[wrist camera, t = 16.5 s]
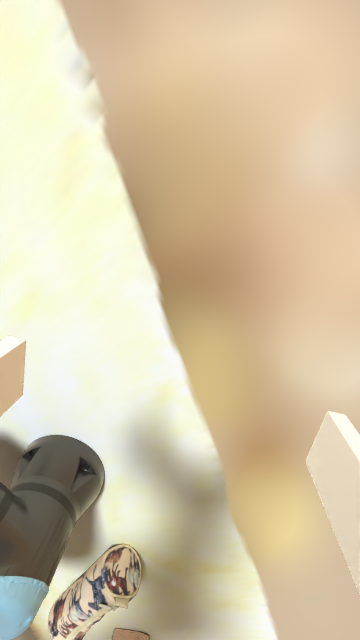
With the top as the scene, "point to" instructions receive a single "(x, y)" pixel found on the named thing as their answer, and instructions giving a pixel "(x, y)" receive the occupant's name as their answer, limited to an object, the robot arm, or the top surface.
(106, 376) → the top surface
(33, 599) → the robot arm
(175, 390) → the top surface
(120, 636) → the brick
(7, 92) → the top surface
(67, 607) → the pencil case
